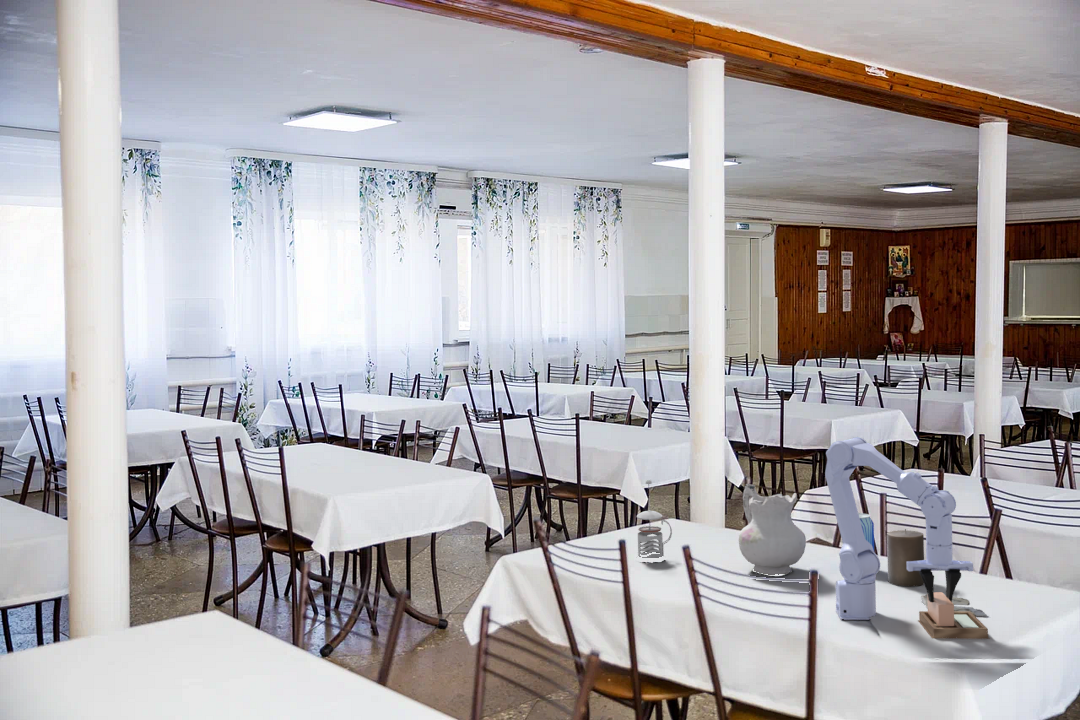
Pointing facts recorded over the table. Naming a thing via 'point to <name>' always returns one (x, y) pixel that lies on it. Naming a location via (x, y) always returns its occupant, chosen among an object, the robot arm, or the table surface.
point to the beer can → (867, 528)
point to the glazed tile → (964, 621)
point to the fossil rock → (959, 608)
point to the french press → (649, 530)
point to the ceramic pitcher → (770, 533)
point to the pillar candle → (904, 556)
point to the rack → (953, 628)
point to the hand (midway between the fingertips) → (940, 601)
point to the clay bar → (941, 610)
